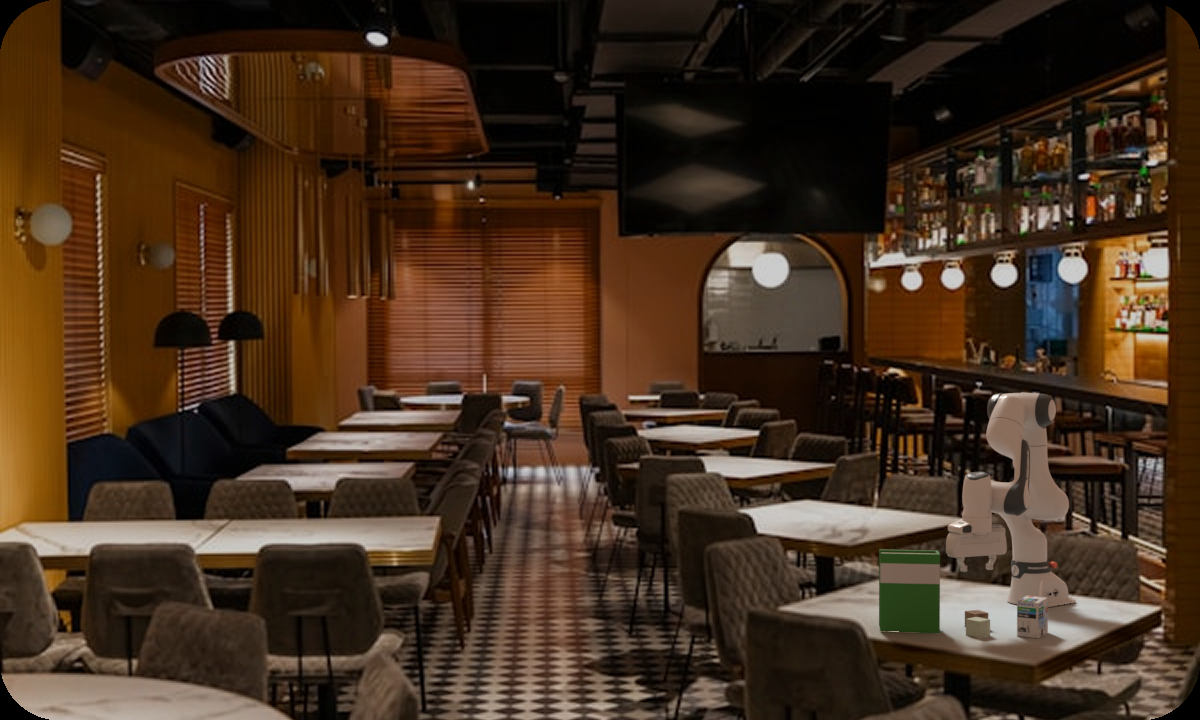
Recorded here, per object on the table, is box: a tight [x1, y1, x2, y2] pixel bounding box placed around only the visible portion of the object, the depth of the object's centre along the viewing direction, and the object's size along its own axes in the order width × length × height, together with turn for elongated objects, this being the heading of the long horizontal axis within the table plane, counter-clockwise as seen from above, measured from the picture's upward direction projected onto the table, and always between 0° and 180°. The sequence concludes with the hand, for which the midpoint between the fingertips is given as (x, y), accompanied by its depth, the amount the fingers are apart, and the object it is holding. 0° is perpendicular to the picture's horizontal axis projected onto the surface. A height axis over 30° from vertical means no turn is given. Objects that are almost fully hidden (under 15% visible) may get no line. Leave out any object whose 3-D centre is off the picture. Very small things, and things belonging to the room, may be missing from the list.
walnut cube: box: [964, 609, 989, 628], centre depth 450 cm, size 5×5×5 cm
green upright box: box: [878, 548, 941, 634], centre depth 447 cm, size 18×7×24 cm, turn 82°
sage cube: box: [965, 617, 991, 639], centre depth 440 cm, size 5×5×5 cm
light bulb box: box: [1016, 595, 1049, 639], centre depth 441 cm, size 11×7×11 cm, turn 148°
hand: (976, 570), depth 450 cm, fingers open, 8 cm apart
